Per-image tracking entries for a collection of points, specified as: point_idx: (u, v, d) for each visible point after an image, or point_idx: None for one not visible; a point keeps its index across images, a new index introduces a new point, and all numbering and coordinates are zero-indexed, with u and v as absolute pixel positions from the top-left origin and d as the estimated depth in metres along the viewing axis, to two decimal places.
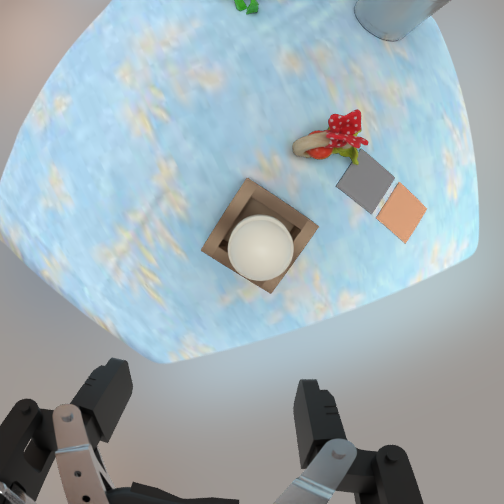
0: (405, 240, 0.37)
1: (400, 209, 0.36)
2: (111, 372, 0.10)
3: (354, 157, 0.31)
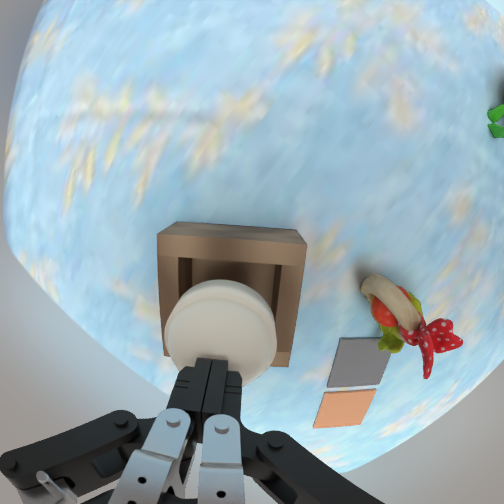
0: (316, 426, 0.29)
1: (346, 407, 0.28)
2: (204, 371, 0.11)
3: (390, 348, 0.22)
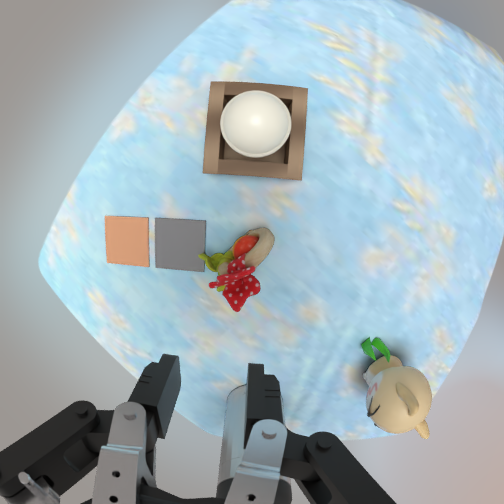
0: (106, 218, 0.33)
1: (130, 242, 0.34)
2: (167, 368, 0.11)
3: (208, 260, 0.31)
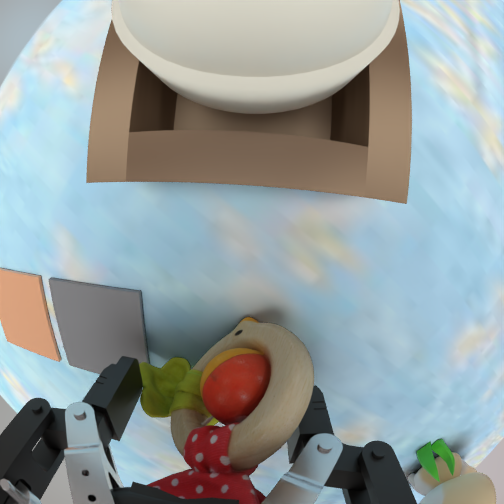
0: None
1: (25, 317, 0.14)
2: (122, 370, 0.10)
3: (147, 396, 0.11)
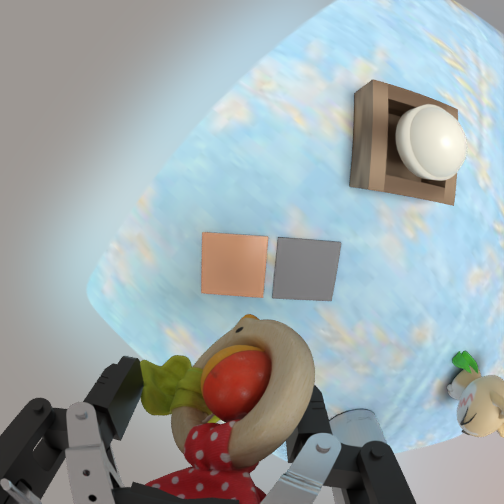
0: (205, 236, 0.28)
1: (240, 267, 0.28)
2: (124, 370, 0.10)
3: (147, 394, 0.11)
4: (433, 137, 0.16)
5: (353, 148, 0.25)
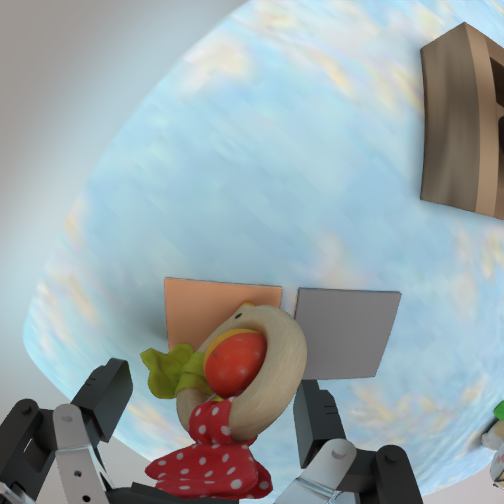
0: (169, 285, 0.15)
1: None
2: (111, 372, 0.10)
3: (154, 378, 0.12)
4: None
5: (427, 134, 0.13)
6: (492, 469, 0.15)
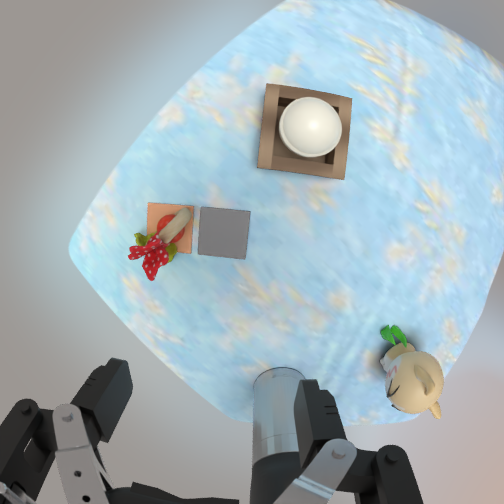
0: (149, 205, 0.36)
1: None
2: (111, 372, 0.10)
3: (138, 238, 0.33)
4: (296, 122, 0.24)
5: None
6: (385, 386, 0.37)
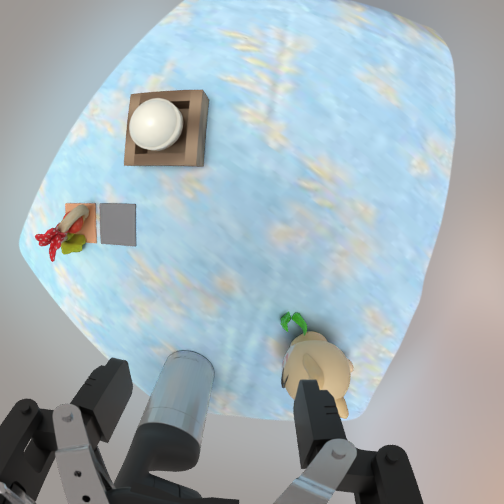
0: (66, 205, 0.39)
1: (83, 223, 0.40)
2: (111, 372, 0.10)
3: None
4: (133, 123, 0.27)
5: None
6: None
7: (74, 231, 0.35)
